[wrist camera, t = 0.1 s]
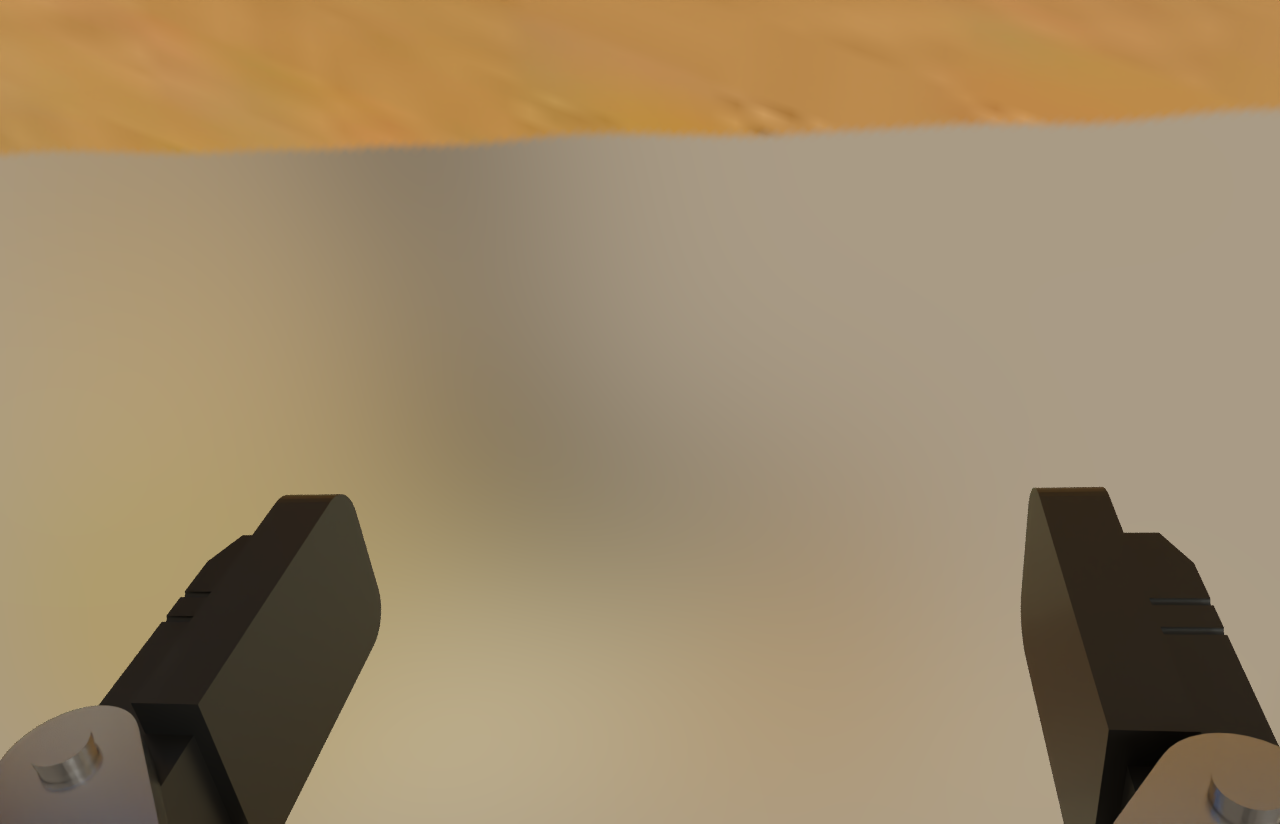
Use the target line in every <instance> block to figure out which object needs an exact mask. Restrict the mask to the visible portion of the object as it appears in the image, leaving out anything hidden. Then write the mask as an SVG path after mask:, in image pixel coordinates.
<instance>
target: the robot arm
mask: <svg viewBox="0 0 1280 824" xmlns="http://www.w3.org/2000/svg"><path fill="white" fill-rule="evenodd" d="M1027 518H1028V519H1027V530H1026V542H1025V555H1024V567H1023V580H1022V592H1021V625H1022V636H1023V645H1024V651H1025V655H1026V660H1027V665H1028V669H1029V673H1030V677H1031V682H1032V686H1033V691H1034V695H1035V699H1036V704H1037V708H1038V713H1039V717H1040V721H1041V725H1042V730H1043V734H1044V738H1045V743H1046V747H1047V751H1048V756H1049V760H1050V765H1051V769H1052V774H1053V778H1054V782H1055V787H1056V791H1057V795H1058V799H1059V803H1060V808H1061V812H1062V817H1063V821H1064V824H1280V747H1279V745H1278V743H1277V741H1276V739H1275V737H1274V735H1273V733H1272V730H1271V728H1270V726H1269V724H1268V722H1267V720H1266V718H1265V715H1264V713H1263V711H1262V709H1261V707H1260V705H1259V702H1258V700H1257V698H1256V696H1255V694H1254V692H1253V689H1252V687H1251V685H1250V683H1249V681H1248V679H1247V677H1246V674H1245V672H1244V670H1243V668H1242V666H1241V664H1240V661H1239V659H1238V657H1237V655H1236V653H1235V651H1234V649H1233V646H1232V644H1231V642H1230V640H1229V638H1228V636H1227V635H1224V627H1223V625H1222V623H1221V621H1220V619H1219V616H1218V614H1217V612H1216V610H1215V608H1214V606H1213V605H1212V606H1211V604H1210V597H1209V595H1208V593H1207V590H1206V588H1205V586H1204V584H1203V582H1202V580H1201V577H1200V575H1199V573H1198V571H1197V569H1196V567H1195V564H1194V563H1193V562H1192V561H1191V560H1190V559H1188V558H1187V557H1186V556H1185V555H1184V554H1183V553H1182V552H1180V551H1179V550H1178V549H1177V548H1176V547H1175V546H1174V545H1172V544H1171V543H1170V542H1169V541H1168V540H1167V539H1165V538H1164V537H1163V536H1162V535H1161V534H1160V533H1123V530H1122V527H1121V525H1120V523H1119V520H1118V518H1117V515H1116V512H1115V510H1114V507H1113V505H1112V502H1111V499H1110V497H1109V494H1108V492H1107V491H1106V489H1105V488H1104V487H1076V488H1075V487H1074V488H1072V487H1071V488H1033V489H1032V491H1031V494H1030V498H1029V506H1028V517H1027ZM380 616H381V601H380V594H379V590H378V586H377V583H376V579H375V576H374V572H373V569H372V566H371V562H370V559H369V555H368V552H367V548H366V545H365V541H364V538H363V534H362V531H361V528H360V524H359V521H358V518H357V514H356V511H355V508H354V506H353V503H352V502H351V500H350V499H349V498H348V497H347V496H346V495H342V494H336V495H335V494H334V495H332V494H331V495H285V496H282V497H281V498H280V499H279V500H278V501H277V502H276V503H275V505H274V506H273V507H272V509H271V510H270V511H269V513H268V514H267V516H266V517H265V518H264V520H263V521H262V523H261V524H260V525H259V527H258V528H257V530H256V531H255V532H254V534H253V535H243V536H241V537H240V538H239V539H237V540H236V541H235V542H233V543H232V544H230V545H229V546H228V547H226V548H225V549H224V550H222V551H221V552H220V553H219V554H217V555H216V556H215V557H213V558H212V559H210V560H209V561H208V562H207V563H206V564H205V566H204V567H203V568H202V570H201V571H200V572H199V574H198V575H197V576H196V577H195V579H194V580H193V582H192V583H191V584H190V585H189V587H188V588H187V589H186V591H185V597H181V598H180V599H179V600H178V601H177V603H176V604H175V605H174V606H173V608H172V609H171V610H170V612H169V613H168V614H167V621H166V622H161V624H160V625H159V626H158V628H157V629H156V630H155V632H154V633H153V634H152V636H151V637H150V638H149V640H148V641H147V642H146V643H145V645H144V646H143V647H142V649H141V650H140V651H139V653H138V654H137V655H136V657H135V658H134V660H133V661H132V662H131V664H130V665H129V666H128V667H127V669H126V670H125V671H124V673H123V674H122V675H121V676H120V678H119V679H118V680H117V682H116V683H115V684H114V686H113V687H112V689H111V690H110V691H109V692H108V694H107V695H106V696H105V698H104V699H103V700H102V702H101V703H100V704H99V706H90V707H84V708H80V709H76V710H72V711H69V712H66V713H64V714H61V715H59V716H57V717H54V718H52V719H50V720H48V721H46V722H44V723H43V724H41V725H39V726H37V727H36V728H35V729H33V730H32V731H30V732H28V733H27V734H26V735H24V736H23V737H22V738H21V739H20V740H19V741H17V742H16V743H15V744H14V745H13V746H12V747H11V748H10V749H9V750H8V751H7V753H6V754H5V755H4V756H3V758H2V759H1V760H0V824H285V822H286V820H287V818H288V816H289V814H290V812H291V810H292V808H293V806H294V804H295V802H296V800H297V798H298V796H299V794H300V792H301V790H302V788H303V786H304V784H305V782H306V780H307V778H308V776H309V774H310V772H311V770H312V768H313V766H314V764H315V762H316V760H317V758H318V756H319V754H320V752H321V750H322V748H323V745H324V744H325V742H326V740H327V738H328V736H329V734H330V732H331V730H332V728H333V726H334V724H335V722H336V720H337V718H338V716H339V714H340V712H341V710H342V708H343V706H344V704H345V702H346V700H347V698H348V696H349V694H350V692H351V690H352V688H353V686H354V684H355V682H356V680H357V678H358V676H359V674H360V672H361V669H362V668H363V666H364V664H365V661H366V660H367V658H368V656H369V654H370V651H371V650H372V648H373V646H374V643H375V641H376V638H377V635H378V631H379V627H380V619H381V617H380Z"/></svg>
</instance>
